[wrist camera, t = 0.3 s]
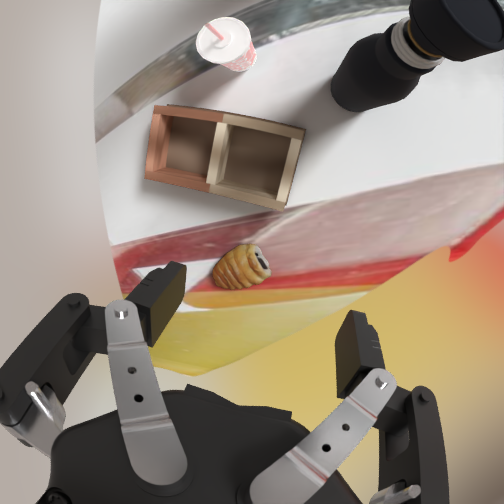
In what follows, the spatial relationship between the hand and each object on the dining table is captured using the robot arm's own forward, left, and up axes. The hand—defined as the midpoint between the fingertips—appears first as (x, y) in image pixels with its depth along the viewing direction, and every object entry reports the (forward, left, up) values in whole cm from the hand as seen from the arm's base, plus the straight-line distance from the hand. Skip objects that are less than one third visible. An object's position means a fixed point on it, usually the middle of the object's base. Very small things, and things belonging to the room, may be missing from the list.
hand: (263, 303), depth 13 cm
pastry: (+15, -4, -29) cm, 32 cm away
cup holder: (-3, -10, -28) cm, 30 cm away
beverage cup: (-17, -11, -28) cm, 35 cm away
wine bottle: (-16, +5, -28) cm, 33 cm away
